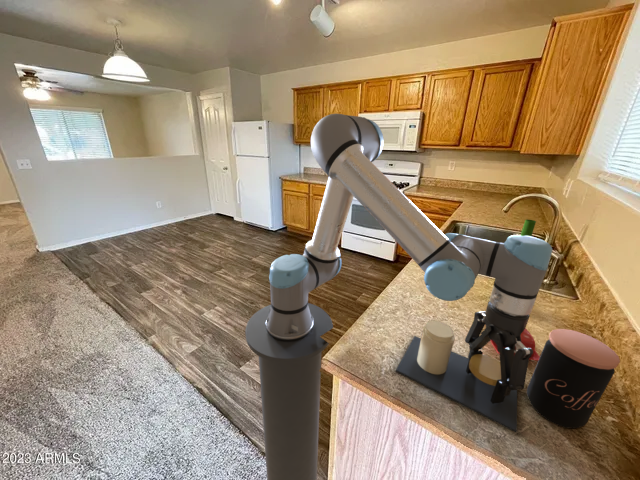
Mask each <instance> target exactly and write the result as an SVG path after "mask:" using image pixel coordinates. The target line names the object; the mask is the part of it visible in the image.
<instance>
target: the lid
mask: <svg viewBox="0 0 640 480" xmlns="http://www.w3.org/2000/svg"><path fill="white" fill-rule="evenodd" d="M469 368H470V370H471V372H472V373H473V374H474V376H476V377H477V378H478V379H479V380H481V381H483V382H485V383H487V384H490V385H493V386H496V383H497V380H499V379H501V366H500V360H498V359H496V358H494V357H492V356H490V355H487V354H484V353H483V354H477V355H474V356H472V357H471V360H470V362H469Z"/></svg>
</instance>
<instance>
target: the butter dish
mask: <svg viewBox="0 0 640 480" xmlns="http://www.w3.org/2000/svg"><path fill="white" fill-rule="evenodd" d="M489 342H490V343H491V345H492V347H493V348H494V351H496V352H497V354H498V355H500V353H499V352H498V350H497V345H496V343H495V342H494V341H493V340H490V341H489ZM521 343H522V344H523V345H524V346H525V347H526V348H531V349H532V350H533V354H532V356H531V357H530V358H529V361H536V362H538V360H539V358H540V354H539V353H538V351H536V341H535V339H534V336H533V335H532V334H531V332H530V331H529V330H528V329H527V327H526V328H525V330H524V331H523V332H522V333H521ZM505 348H508V347H505ZM515 348H516V346H515ZM514 355H515V353H514Z"/></svg>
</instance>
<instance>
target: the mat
mask: <svg viewBox="0 0 640 480" xmlns="http://www.w3.org/2000/svg"><path fill="white" fill-rule="evenodd" d="M420 341H421V337H418V336H415V335H414V336H413V338H412V340H411V342H410V344H408V347H407V349H406V350H405V352H404V354H403V356H402V358H401V360H400V362H399V364H398V365H397V367H396V369H395V372H396V373H398V374H400V375H401V376H404V377H406V378H408V379H410V380H412V381H414V382H416V383H418V384H420V385H422V386H424V387H426V388H427V389H429V390H432V391H433V392H436V393H437V394H439V395H441V396H442V397H445V398H447V399H449V400H451V401H453V402H455V403H457V404H459V405H461V406H463V407H465V408H467V409H469V410H471V411H472V412H474V413H476V414H479V415H481V416H483V417H484V418H487V419H488V420H491V421H493V422H494V423H496V424H498V425H501V426H503V427H505V428H506V429H508V430H510V431H512V432H514V433H517V431H518V390H511V392H510V395H508V396H505V398H504V401H503V402H501V403H495V404H493V403H492V402H491V401H490V400H491V397H492V394H493V392H494V389H495V386H493V385H490V384H487V383H485V382H483V381H481V380H479V379H478V378H477V377H476V376H474V374H473V373H469V374H467V372H466V368H467V365H468V361H469V359H468V357H466V356H463V355H461V354H458V353H456V352H454V351H453V350H452V351H451V355H450V359H449V363H448V367H447V370H446V372H445V373H443V374H432V373H429V372H427V371H425V370H424V369H422V368H421V367H420V365H419V364H418V362H417V355H418V350H419V346H420Z"/></svg>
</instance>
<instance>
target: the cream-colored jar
mask: <svg viewBox="0 0 640 480" xmlns="http://www.w3.org/2000/svg"><path fill="white" fill-rule="evenodd" d="M420 338H421V341H420V346H419V350H418V355H417V362H418V364H419V365H420V367H421V368H422V369H424V370H425V371H427V372H429V373H432V374H443V373H445V372H446V370H447V367H448V363H449V359H450V355H451V351H452V352H453V347H454V344H455V338H456V337H455V333H454V329H453V327H452V326H451V325H449V324H447V323H446V322H445V321H444V322H443V321H441V320H435V319H434V320H433V319H432V320H428V321H427V322H426V323H425V324H424V325H423V327H422V332H421V336H420Z"/></svg>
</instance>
